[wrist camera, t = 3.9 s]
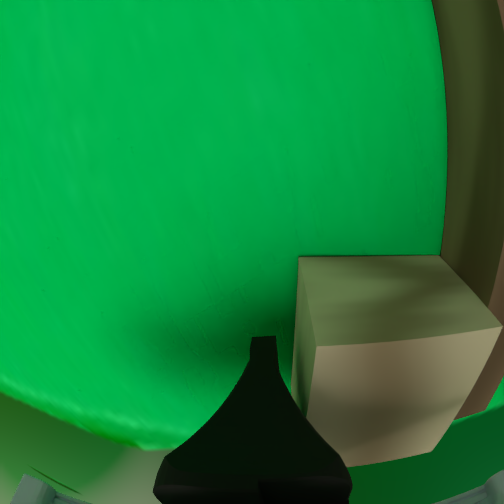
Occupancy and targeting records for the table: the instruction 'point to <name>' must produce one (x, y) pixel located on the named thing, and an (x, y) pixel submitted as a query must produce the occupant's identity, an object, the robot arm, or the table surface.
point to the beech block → (385, 352)
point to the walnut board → (475, 164)
